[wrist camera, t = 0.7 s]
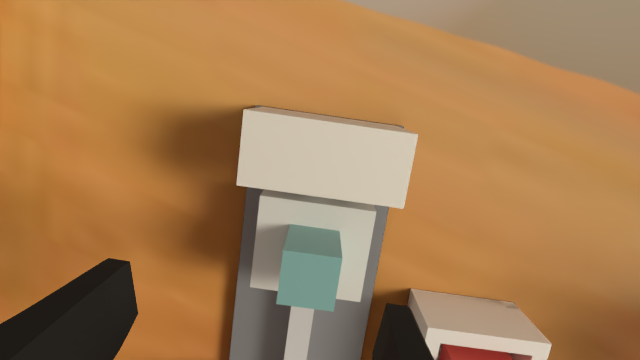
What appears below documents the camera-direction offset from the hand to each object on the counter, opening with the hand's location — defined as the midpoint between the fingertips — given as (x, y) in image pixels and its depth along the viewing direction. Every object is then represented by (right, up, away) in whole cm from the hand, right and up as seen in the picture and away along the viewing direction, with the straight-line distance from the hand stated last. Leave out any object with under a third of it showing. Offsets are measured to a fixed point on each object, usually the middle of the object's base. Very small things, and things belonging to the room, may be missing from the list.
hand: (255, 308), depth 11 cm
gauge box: (+12, -9, +19) cm, 24 cm away
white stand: (+1, -4, +18) cm, 18 cm away
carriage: (+1, 0, +16) cm, 16 cm away
